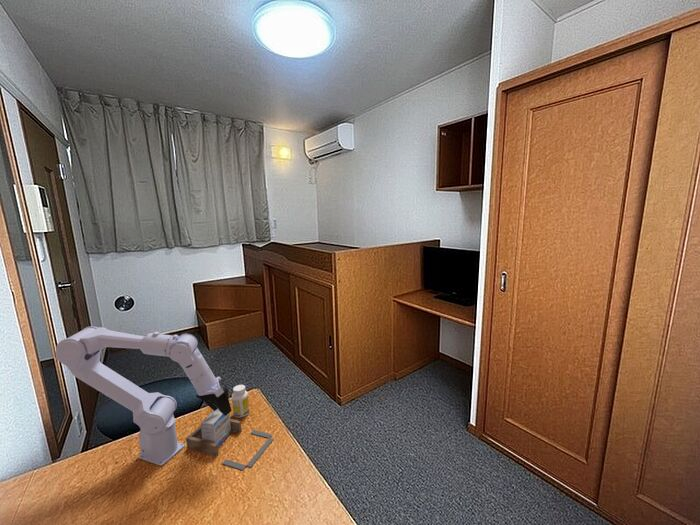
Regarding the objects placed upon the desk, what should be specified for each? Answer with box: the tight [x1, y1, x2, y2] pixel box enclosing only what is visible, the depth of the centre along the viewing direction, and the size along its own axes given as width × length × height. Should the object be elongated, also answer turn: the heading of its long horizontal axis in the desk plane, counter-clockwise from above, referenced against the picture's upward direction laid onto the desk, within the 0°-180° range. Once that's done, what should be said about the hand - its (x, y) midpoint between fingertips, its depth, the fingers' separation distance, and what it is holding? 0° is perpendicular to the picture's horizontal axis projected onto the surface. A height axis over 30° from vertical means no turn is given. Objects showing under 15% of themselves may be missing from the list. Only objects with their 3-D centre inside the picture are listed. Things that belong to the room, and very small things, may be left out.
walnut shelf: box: [185, 418, 242, 458], centre depth 93 cm, size 11×11×4 cm
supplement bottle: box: [231, 384, 250, 419], centre depth 105 cm, size 5×5×10 cm
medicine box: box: [200, 409, 232, 448], centre depth 93 cm, size 8×4×9 cm, turn 168°
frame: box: [221, 429, 274, 471], centre depth 89 cm, size 8×14×1 cm, turn 161°
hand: (222, 410), depth 90 cm, fingers open, 7 cm apart
